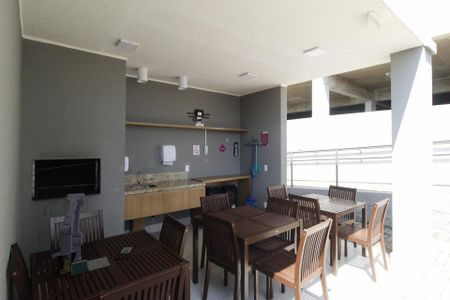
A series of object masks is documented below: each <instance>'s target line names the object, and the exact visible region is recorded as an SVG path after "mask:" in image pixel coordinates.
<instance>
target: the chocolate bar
mask: <svg viewBox="0 0 450 300" xmlns="http://www.w3.org/2000/svg"><path fill="white" fill-rule="evenodd" d="M134 249H135V246H134V247H133V246H129V247H128V246H127V247H122V248H120V250H119V251H118V252H117V254H116V256H115V257H114V258H113V259H114V261H117V260H120V261H121V260H128V259H129V258H130V256H131V254H132V253H133V251H134Z"/></svg>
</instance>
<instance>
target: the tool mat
mask: <svg viewBox="0 0 450 300" xmlns="http://www.w3.org/2000/svg"><path fill="white" fill-rule="evenodd" d="M110 266H111V264H110V262H109V259H108V258H107V256H104V257H100V258H96V259H91V260H87V271H88V272H91V271H96V270H99V269H102V268H103V269H104V268H107V267H110Z"/></svg>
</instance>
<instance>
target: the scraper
mask: <svg viewBox="0 0 450 300" xmlns="http://www.w3.org/2000/svg"><path fill="white" fill-rule="evenodd" d="M66 273H71V262H70V257H69V258H67V257H66V258H63V269H61V270H59V275H63V274H66Z"/></svg>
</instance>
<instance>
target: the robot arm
mask: <svg viewBox="0 0 450 300" xmlns="http://www.w3.org/2000/svg"><path fill="white" fill-rule="evenodd" d="M85 198H86V196H85V193H83V192H82V193H68V194H67V195H66V203H67V205H68V207H67V214H65V215H64V218H63V221H62V225H61V226H60V227H59V229H58V233H59V234H58V235H59V238H60V251H59V252H55V253H52V254H51V258H52V259H55V258H57V260H58V263H59V264H60V268H61V269H64V263H63V256H67V257H66V258H69V257H70V264H71V263H74V262H78V261H83V259H82V255H81V254H82V253H81V252H82V251H81V249H82V248H81V247H82V245H84V244H83V243H84V234H83V232H81V231H80V221H81V210H82V209H81V208H82V207H83V206H84V205H85V200H86V199H85Z"/></svg>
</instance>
